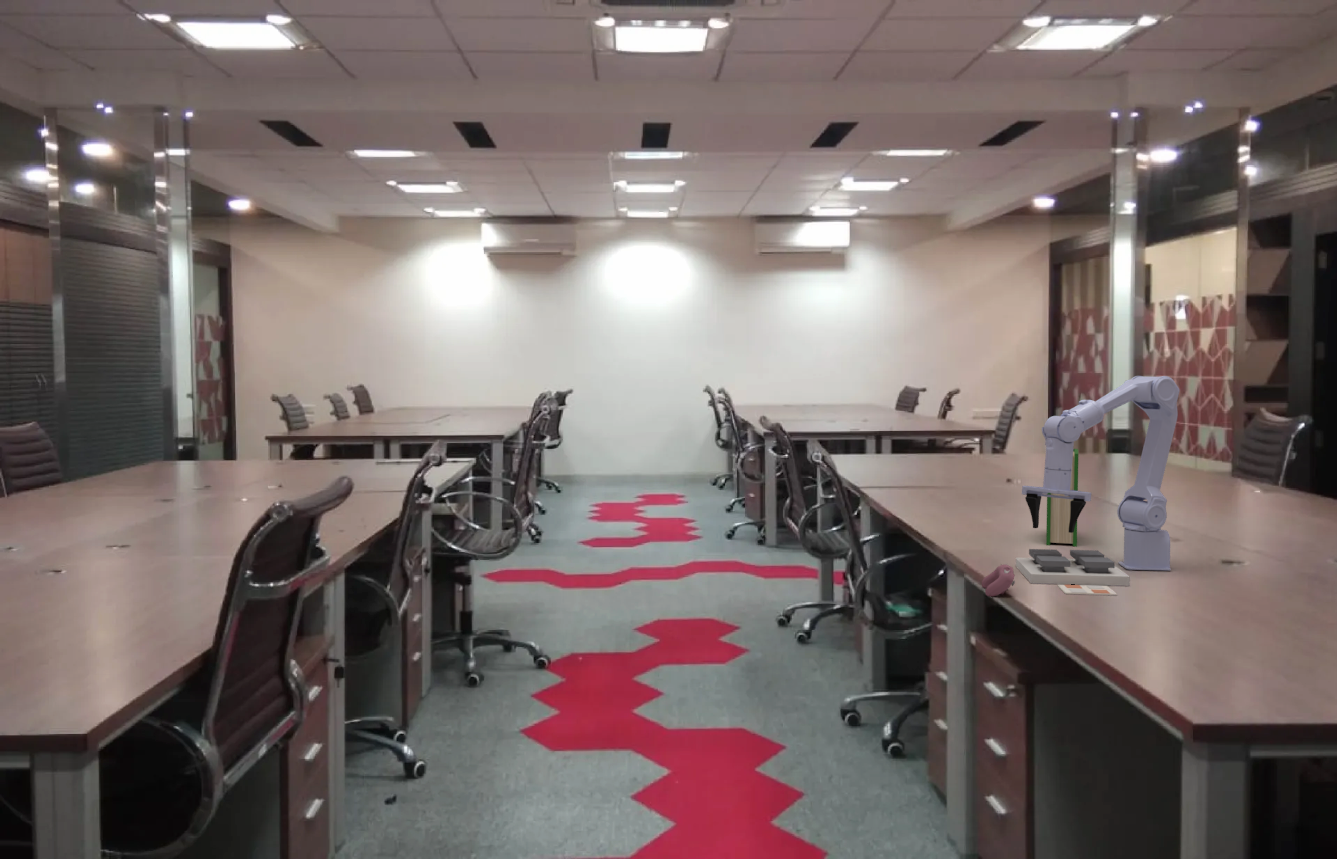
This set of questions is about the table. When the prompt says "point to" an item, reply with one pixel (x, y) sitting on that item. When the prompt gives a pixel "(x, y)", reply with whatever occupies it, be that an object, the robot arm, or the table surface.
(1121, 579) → the button board
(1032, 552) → the button
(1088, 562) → the button
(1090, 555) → the button
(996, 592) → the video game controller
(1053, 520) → the hardback book
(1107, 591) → the pattern card
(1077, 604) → the table surface
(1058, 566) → the button
